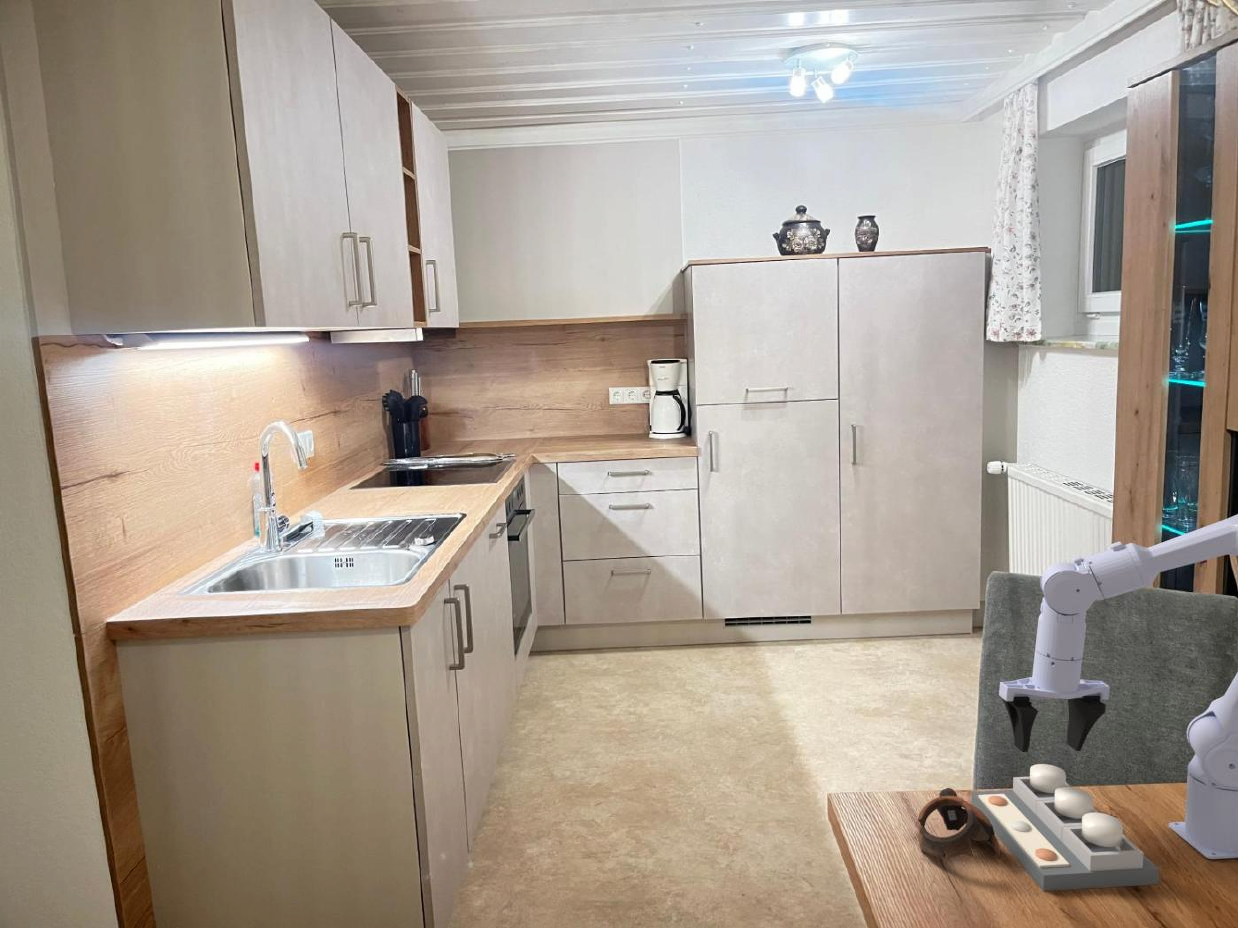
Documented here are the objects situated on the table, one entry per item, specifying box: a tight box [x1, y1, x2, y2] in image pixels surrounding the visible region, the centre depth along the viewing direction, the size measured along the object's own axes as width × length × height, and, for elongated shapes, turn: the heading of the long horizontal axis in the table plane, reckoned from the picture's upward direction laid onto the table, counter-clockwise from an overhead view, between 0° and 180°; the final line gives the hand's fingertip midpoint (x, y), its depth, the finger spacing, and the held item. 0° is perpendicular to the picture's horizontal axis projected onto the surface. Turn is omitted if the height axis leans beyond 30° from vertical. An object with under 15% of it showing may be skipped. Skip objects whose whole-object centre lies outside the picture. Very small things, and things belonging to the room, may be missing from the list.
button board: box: [970, 776, 1160, 892], centre depth 116 cm, size 14×20×4 cm
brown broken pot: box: [917, 787, 1001, 860], centre depth 116 cm, size 12×10×8 cm
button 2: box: [1082, 812, 1124, 847], centre depth 110 cm, size 4×4×2 cm
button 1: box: [1029, 763, 1067, 793], centre depth 123 cm, size 4×4×2 cm
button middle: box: [1054, 786, 1094, 819], centre depth 116 cm, size 4×4×2 cm
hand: (1047, 748), depth 122 cm, fingers open, 7 cm apart
